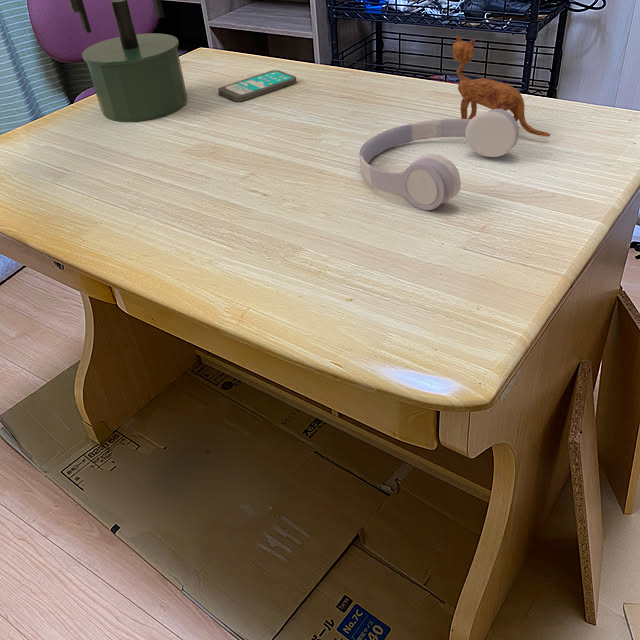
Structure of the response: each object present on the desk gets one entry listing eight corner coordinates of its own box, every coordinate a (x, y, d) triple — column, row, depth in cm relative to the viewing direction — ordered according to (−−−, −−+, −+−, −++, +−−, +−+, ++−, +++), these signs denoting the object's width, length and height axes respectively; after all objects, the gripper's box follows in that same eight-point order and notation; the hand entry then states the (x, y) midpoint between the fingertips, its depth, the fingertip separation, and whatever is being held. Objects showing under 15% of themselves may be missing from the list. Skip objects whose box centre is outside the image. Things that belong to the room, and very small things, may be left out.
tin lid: (96, 75, 108) (79, 18, 102) (75, 52, 121) (59, 0, 115) (192, 54, 114) (182, -1, 108) (162, 34, 127) (151, -17, 121)
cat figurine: (557, 135, 99) (573, 45, 90) (539, 151, 95) (554, 58, 87) (458, 114, 109) (464, 30, 100) (438, 127, 105) (442, 41, 96)
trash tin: (114, 129, 115) (98, 70, 108) (94, 103, 127) (77, 49, 120) (199, 107, 121) (187, 50, 114) (171, 85, 132) (160, 32, 126)
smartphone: (214, 87, 125) (274, 68, 132) (215, 92, 126) (275, 73, 133) (238, 97, 120) (299, 76, 127) (238, 102, 121) (299, 81, 127)
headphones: (524, 154, 94) (412, 135, 106) (527, 107, 90) (410, 93, 101) (448, 217, 82) (330, 189, 93) (447, 167, 77) (324, 143, 89)
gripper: (12, -107, 94) (59, 42, 107) (170, -126, 102) (195, 14, 116) (5, -109, 99) (51, 33, 112) (156, -127, 107) (182, 7, 121)
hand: (124, 23), depth 114 cm, fingers open, 13 cm apart
